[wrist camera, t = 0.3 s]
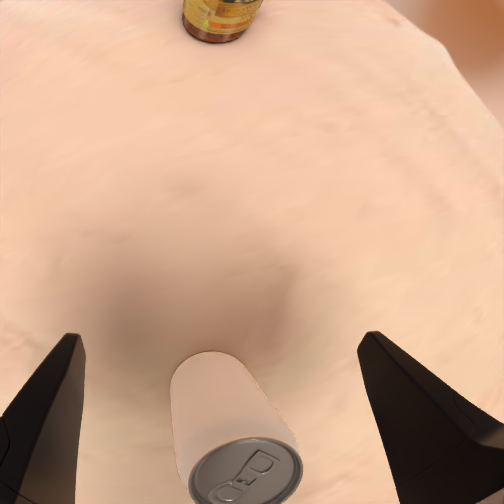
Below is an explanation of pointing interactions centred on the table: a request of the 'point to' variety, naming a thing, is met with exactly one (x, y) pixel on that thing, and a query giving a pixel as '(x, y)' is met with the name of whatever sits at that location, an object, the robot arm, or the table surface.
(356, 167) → the table surface
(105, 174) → the table surface
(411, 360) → the robot arm
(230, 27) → the sauce bottle
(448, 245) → the table surface
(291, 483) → the can
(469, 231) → the table surface
